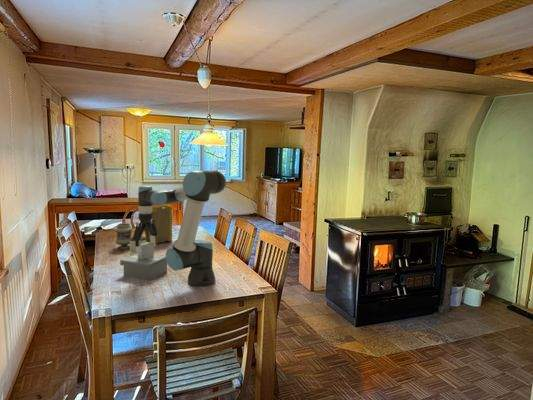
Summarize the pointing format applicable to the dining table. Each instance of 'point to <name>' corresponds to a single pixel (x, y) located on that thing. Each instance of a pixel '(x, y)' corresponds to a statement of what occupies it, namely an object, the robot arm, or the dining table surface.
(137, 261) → the lid
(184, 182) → the robot arm
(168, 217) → the decorative book
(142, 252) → the medicine box
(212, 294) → the dining table surface
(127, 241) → the apothecary jar
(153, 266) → the crate
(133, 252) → the coffee can
